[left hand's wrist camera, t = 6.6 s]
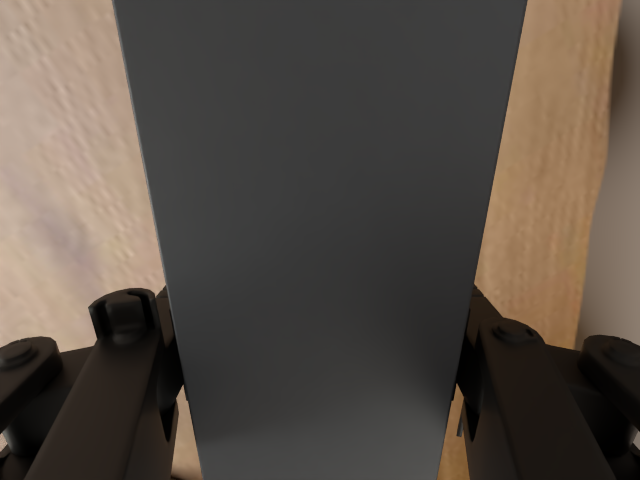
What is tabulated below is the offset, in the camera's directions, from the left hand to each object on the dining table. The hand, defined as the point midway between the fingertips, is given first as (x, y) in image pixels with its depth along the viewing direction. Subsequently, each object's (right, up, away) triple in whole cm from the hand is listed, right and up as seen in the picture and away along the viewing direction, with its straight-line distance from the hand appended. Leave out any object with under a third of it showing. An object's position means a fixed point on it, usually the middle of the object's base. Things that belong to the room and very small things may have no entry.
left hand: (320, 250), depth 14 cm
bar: (0, +7, -2) cm, 7 cm away
